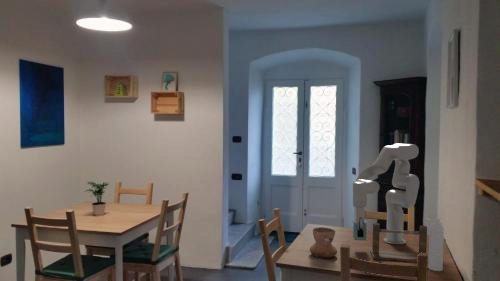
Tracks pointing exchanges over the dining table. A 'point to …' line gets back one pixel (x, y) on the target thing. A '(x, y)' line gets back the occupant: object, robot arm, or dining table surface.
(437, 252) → the water bottle
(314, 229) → the ceramic jug
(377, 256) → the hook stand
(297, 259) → the dining table surface
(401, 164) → the robot arm
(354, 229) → the saddle hanger
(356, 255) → the dining table surface
